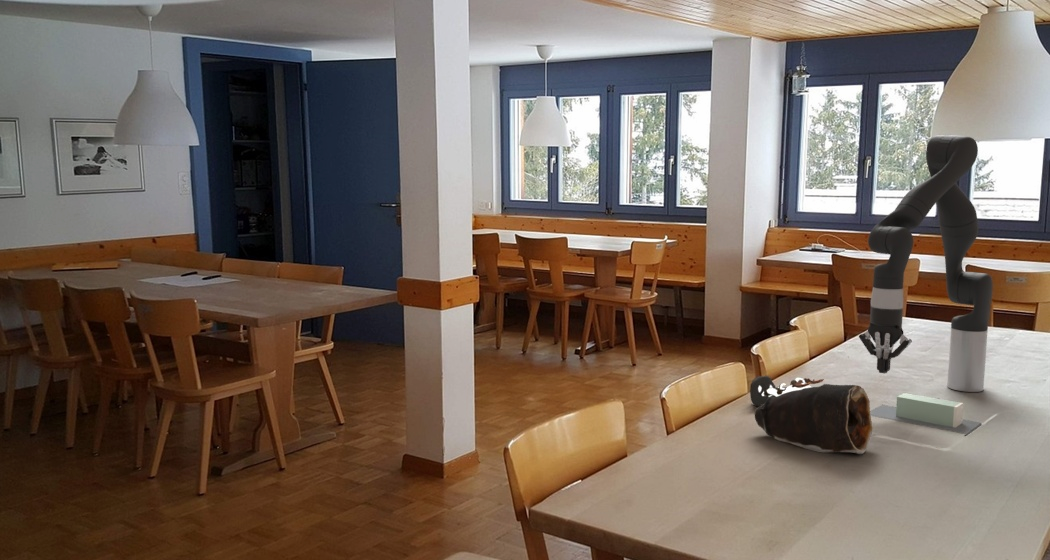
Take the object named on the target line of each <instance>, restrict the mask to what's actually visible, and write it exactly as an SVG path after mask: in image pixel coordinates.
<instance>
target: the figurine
mask: <svg viewBox="0 0 1050 560" xmlns="http://www.w3.org/2000/svg"><path fill="white" fill-rule="evenodd" d="M824 380H825V379H824V378H822V379H817V380H815V379H813V380H811V379H810V378H806V377H805V378H803V377H802V378H801V377H796V378H795V379H792V380H791V381H790V384H789V385H788V386H786V384H787V383H784V382H782V383H781V384H779V386H777V387H776V385H775V384H774V382H773V379H772V378H771V377H770V376H769V375H767V374H765V375H763V376H762V375H761V376H755V377H754V379H753V380H752V382H751V383H750V386H749V387H750V389H749V394H750V401H751V403H752V404H753V405H754V406H755V407H757V408H758V407H759V406H761V405H762V404H764V403H765V402H766V401H767V399H768V398H769V397H777V396H779V395H781V394H784V393H787V392H791V391H795V390H801V389H804V388H810V387H812V386H811V385H815V384H816V385H817V384H820V383H822V382H823V381H824Z"/></svg>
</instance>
